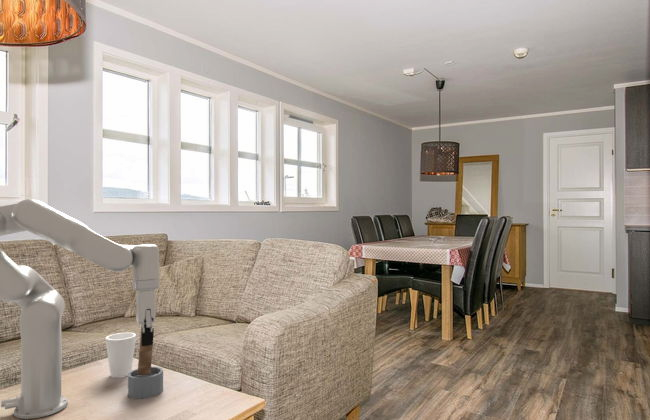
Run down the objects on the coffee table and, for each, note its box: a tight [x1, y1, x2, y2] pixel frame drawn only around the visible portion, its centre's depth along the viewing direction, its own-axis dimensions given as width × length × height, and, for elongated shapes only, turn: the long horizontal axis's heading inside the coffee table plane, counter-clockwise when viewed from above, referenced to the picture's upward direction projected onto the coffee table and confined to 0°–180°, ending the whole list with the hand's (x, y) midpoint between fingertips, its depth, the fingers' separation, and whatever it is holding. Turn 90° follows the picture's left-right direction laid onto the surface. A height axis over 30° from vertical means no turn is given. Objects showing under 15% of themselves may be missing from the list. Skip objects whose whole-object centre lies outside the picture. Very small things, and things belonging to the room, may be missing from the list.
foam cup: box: [105, 332, 137, 379], centre depth 148 cm, size 10×9×13 cm
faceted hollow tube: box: [127, 366, 164, 400], centre depth 133 cm, size 10×10×6 cm
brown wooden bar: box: [137, 326, 155, 375], centre depth 133 cm, size 4×2×14 cm
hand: (146, 343), depth 133 cm, fingers closed on brown wooden bar, 2 cm apart
